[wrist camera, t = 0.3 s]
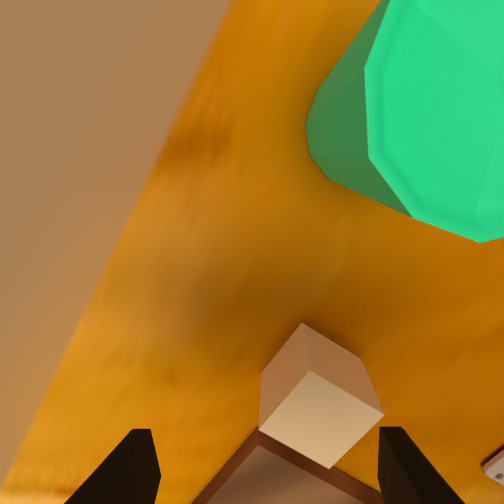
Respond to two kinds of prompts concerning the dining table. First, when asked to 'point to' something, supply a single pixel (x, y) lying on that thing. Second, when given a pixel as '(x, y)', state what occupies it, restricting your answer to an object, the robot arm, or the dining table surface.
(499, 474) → the robot arm
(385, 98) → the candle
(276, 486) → the walnut board
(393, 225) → the dining table surface
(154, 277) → the dining table surface
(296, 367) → the cube
